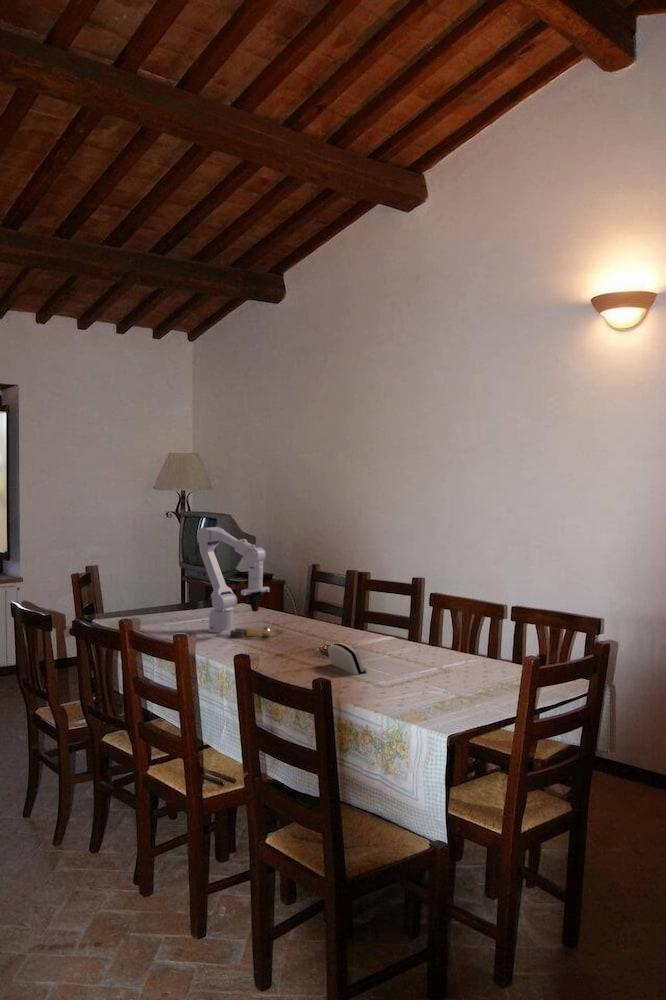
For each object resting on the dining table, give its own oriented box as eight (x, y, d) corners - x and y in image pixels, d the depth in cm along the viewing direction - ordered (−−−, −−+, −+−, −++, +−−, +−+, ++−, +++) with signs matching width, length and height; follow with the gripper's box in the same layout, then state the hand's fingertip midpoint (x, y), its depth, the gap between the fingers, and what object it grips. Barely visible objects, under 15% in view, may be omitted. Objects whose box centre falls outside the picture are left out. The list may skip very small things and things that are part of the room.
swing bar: (271, 635, 332) (271, 627, 332) (268, 637, 329) (268, 628, 329) (237, 633, 335) (237, 625, 335) (234, 634, 332) (234, 626, 332)
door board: (225, 641, 327) (226, 632, 327) (242, 630, 350) (242, 621, 350) (273, 644, 324) (273, 635, 324) (286, 633, 347) (286, 624, 347)
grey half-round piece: (368, 673, 283) (360, 646, 281) (356, 679, 281) (349, 652, 279) (342, 662, 298) (335, 637, 296) (331, 668, 295) (324, 642, 293)
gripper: (250, 580, 329) (249, 614, 330) (275, 577, 340) (274, 610, 341) (237, 578, 333) (236, 612, 334) (262, 575, 345) (261, 608, 345)
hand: (254, 611), depth 338 cm, fingers closed
